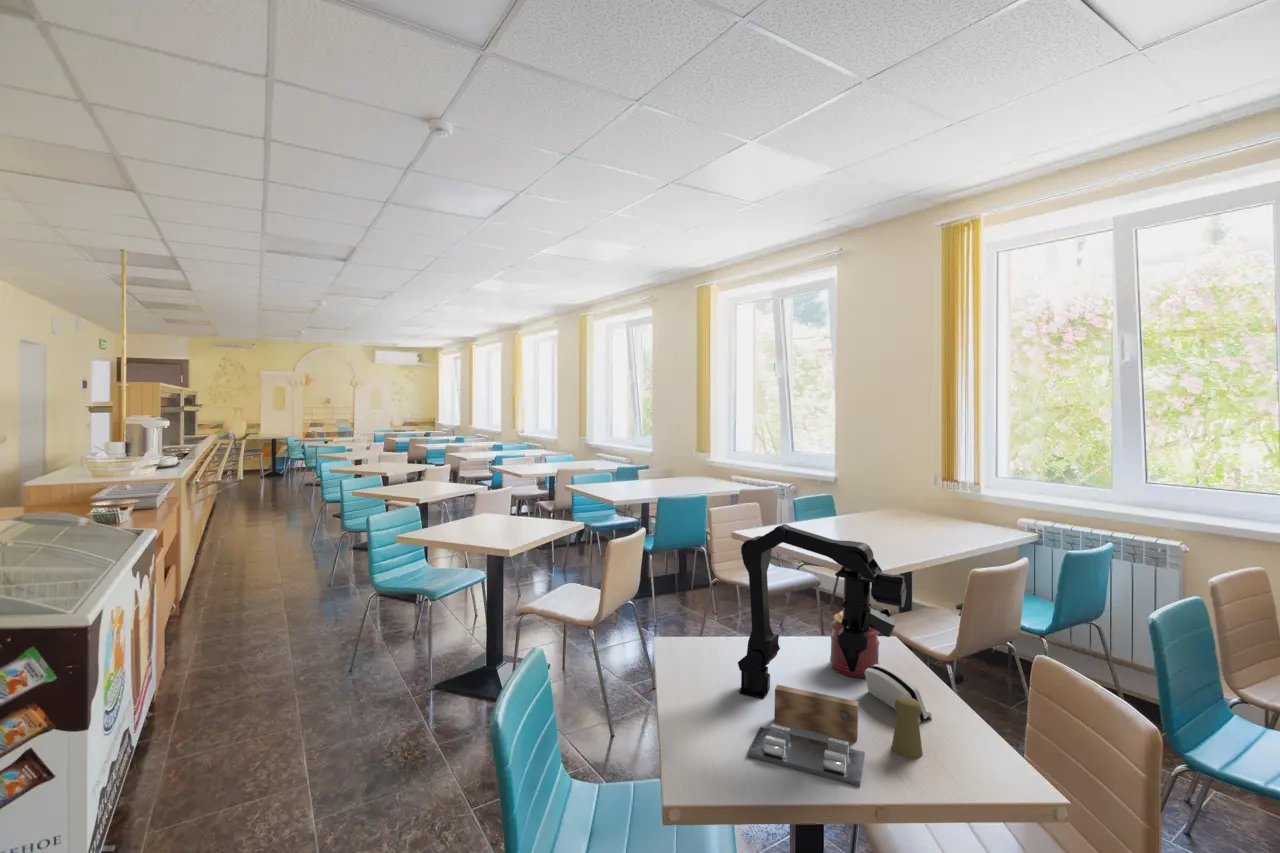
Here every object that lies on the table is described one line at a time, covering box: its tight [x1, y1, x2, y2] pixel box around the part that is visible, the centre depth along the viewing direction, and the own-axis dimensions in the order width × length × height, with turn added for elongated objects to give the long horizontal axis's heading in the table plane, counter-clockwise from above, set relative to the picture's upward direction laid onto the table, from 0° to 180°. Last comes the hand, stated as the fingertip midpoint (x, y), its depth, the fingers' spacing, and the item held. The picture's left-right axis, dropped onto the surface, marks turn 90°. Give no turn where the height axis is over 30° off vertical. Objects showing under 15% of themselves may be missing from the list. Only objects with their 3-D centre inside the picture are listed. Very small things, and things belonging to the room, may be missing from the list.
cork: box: [891, 696, 924, 760], centre depth 125 cm, size 6×6×11 cm
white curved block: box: [865, 664, 934, 723], centre depth 144 cm, size 17×5×10 cm, turn 18°
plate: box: [747, 723, 866, 787], centre depth 122 cm, size 22×11×4 cm, turn 65°
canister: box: [829, 610, 880, 679], centre depth 165 cm, size 13×13×18 cm
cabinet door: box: [773, 684, 859, 742], centre depth 132 cm, size 18×4×8 cm, turn 65°
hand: (853, 663), depth 137 cm, fingers open, 9 cm apart
